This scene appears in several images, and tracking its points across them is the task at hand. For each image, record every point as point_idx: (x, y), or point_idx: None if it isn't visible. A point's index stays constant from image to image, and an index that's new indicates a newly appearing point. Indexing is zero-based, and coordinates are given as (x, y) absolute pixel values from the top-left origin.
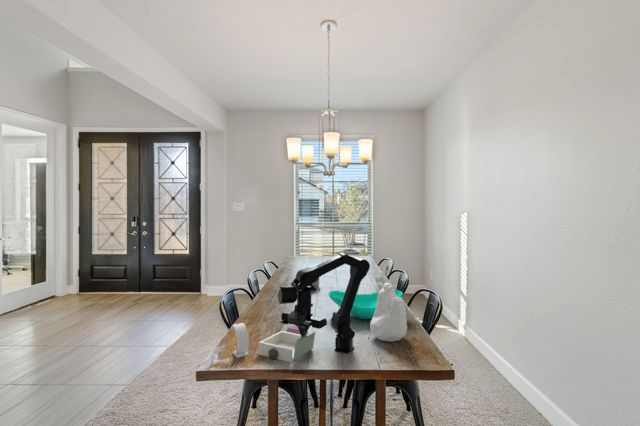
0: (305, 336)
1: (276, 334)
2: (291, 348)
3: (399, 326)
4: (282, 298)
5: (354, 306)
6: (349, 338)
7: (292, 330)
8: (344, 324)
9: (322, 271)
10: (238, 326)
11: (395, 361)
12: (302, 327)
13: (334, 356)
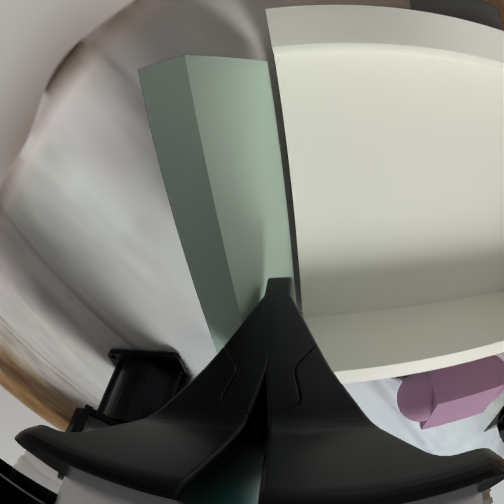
0: (217, 317)
1: None
2: (418, 231)
3: (29, 461)
4: None
5: None
6: (75, 410)
7: (482, 383)
8: (58, 477)
9: None
10: None
11: (3, 347)
12: (181, 437)
13: (119, 300)
